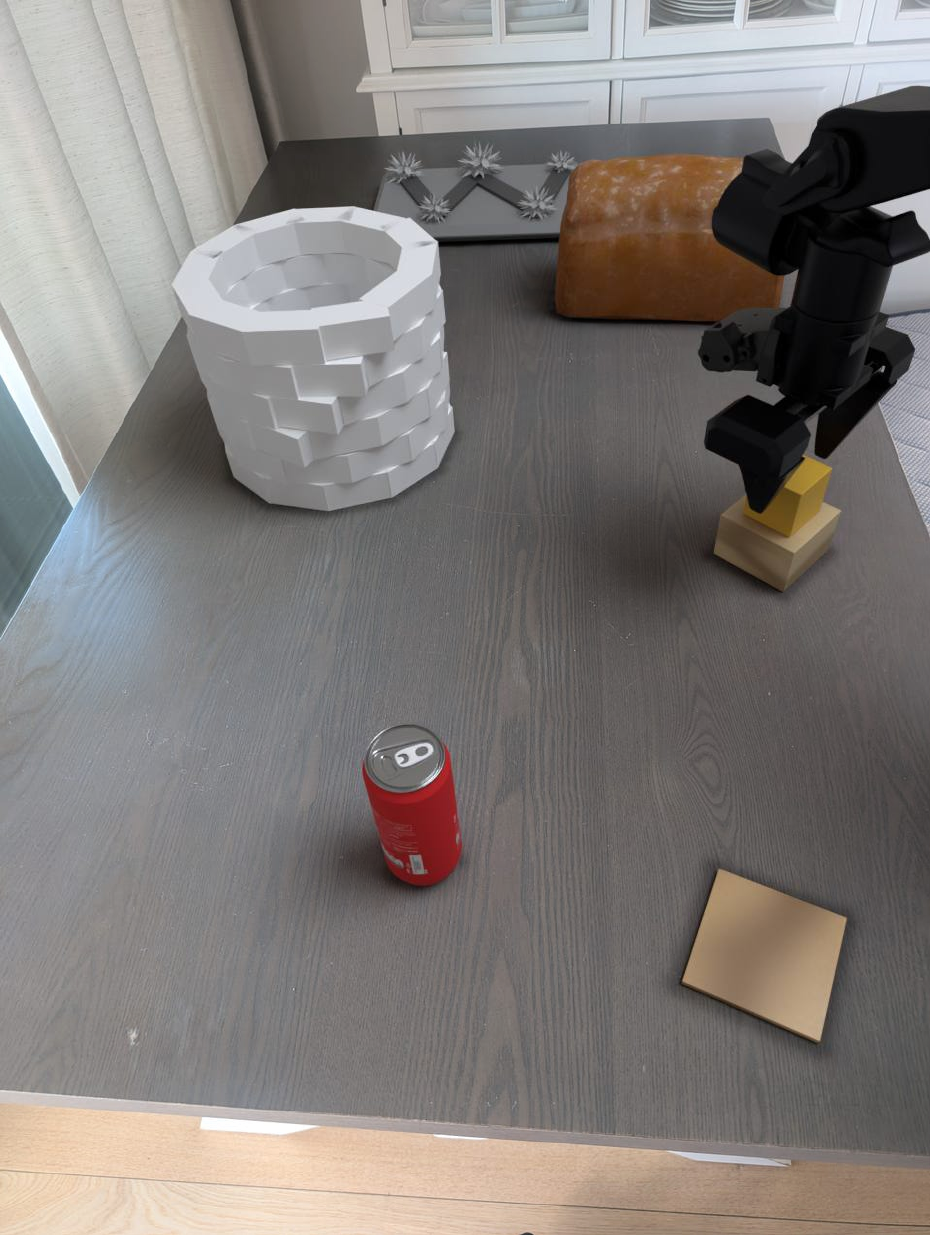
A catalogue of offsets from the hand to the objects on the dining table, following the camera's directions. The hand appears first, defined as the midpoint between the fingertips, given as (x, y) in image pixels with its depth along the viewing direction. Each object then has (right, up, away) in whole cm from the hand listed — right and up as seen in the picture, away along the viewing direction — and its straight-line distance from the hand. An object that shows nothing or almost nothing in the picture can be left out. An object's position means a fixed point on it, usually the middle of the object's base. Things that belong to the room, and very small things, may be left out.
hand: (789, 482), depth 72 cm
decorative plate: (-24, +47, +56) cm, 77 cm away
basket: (-39, +7, +21) cm, 45 cm away
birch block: (0, -5, +6) cm, 8 cm away
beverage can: (-29, -27, -12) cm, 41 cm away
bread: (-2, +28, +36) cm, 46 cm away
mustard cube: (0, -2, +2) cm, 3 cm away
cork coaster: (-8, -31, -17) cm, 37 cm away
